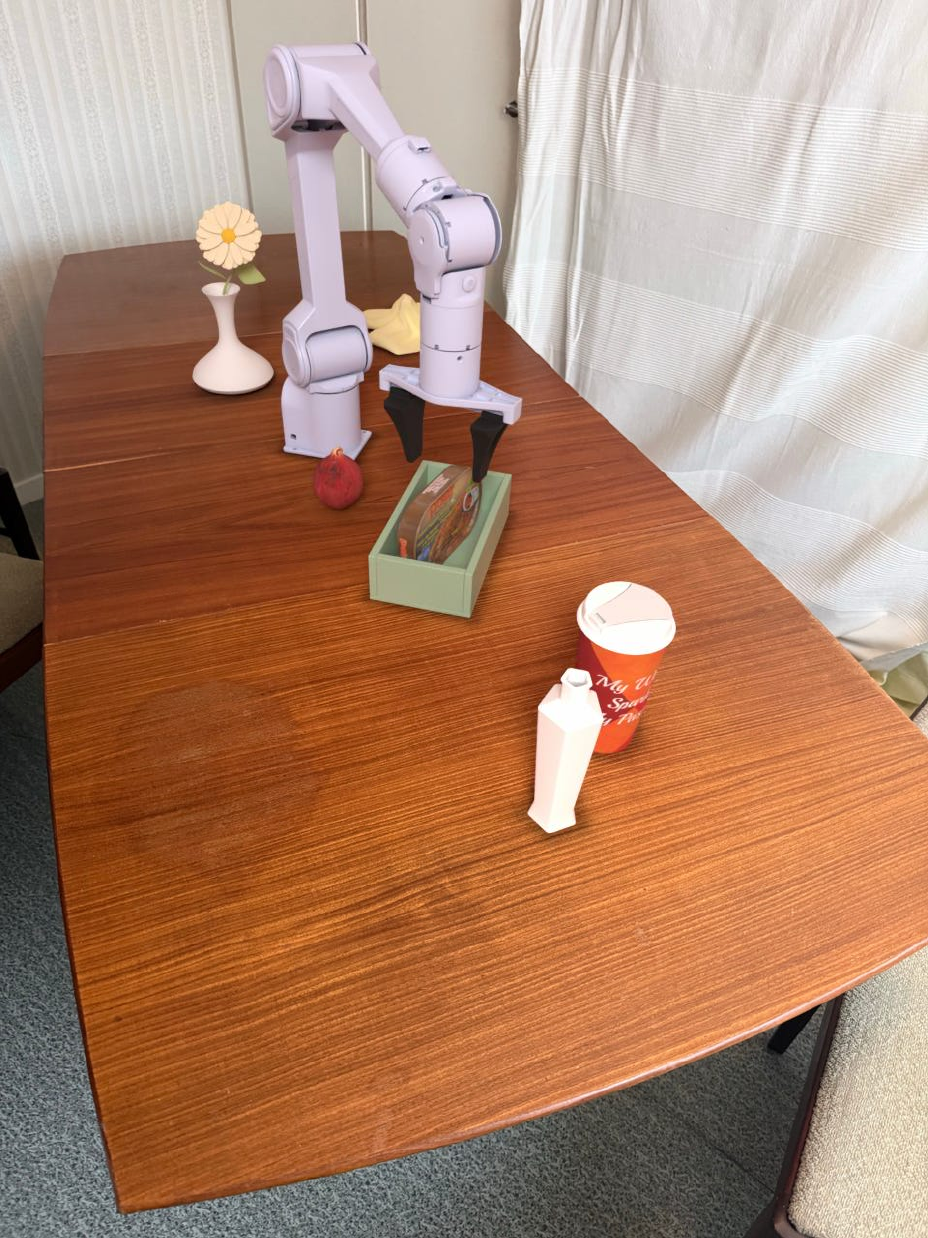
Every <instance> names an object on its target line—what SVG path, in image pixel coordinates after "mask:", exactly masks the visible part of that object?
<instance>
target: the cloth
mask: <svg viewBox="0 0 928 1238" xmlns="http://www.w3.org/2000/svg"><path fill="white" fill-rule="evenodd" d="M362 312H363V314H364V315H365V317H366V322H367V328H368V330H372V331H370V332H368V333H369V336H370V339H371V342H372V346H375V347H377V348H380V349H383V350H386V351H388V352H390V353H393V354H394V355H397V356H403V355H408V354H414V353H420V302H418V301H417V302H416V301H415V300H414V299H413V296H411V295H409V294H407V293H402V294H401V296H400V297H399V298H398V299H397V300H395V301H394V303H393V304H392V306H391V308H371V309H366V310H364V311H362Z"/></svg>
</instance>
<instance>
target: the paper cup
mask: <svg viewBox="0 0 928 1238" xmlns="http://www.w3.org/2000/svg"><path fill="white" fill-rule="evenodd" d="M576 621H577V625H578V627H579V629H578V636H577V637H578V638H577V647H576V657H575V666H574V669H578V670H584V671H587V672H589V674H590V677H591V681H592V686H591V687H590V688H589V690H593V691H595V692H596V694H597V698H598V701H599V705H600V708H601V712H602V715H603V723H602V726H601V729H600V732H599V735H598V738H597V741H596V744H595V747H594V750H593V752H595V753H597V754H598V753H599V754H614V753H615V754H616V753H618V752H620V751H623V750H624V749H626V748H627V747H628V746H629V745H630V743H631V742H632V741H633V738H634V736H635V733H636V731H637V728H638V726H639V723H640V720H641V717H642V714H643V712H644V710H645V707H646V703H647V701H648V698H649V695H650V693H651V690H652V687H653V684H654V681H655V679H656V676H657V673H658V670H659V667H660V665H661V662H662V659H663V656H664V653H665V652H666V649H667V646H668V645H669V644H670V643H672V641H673V639H674V637H675V634H676V628H677V627H676V621H675V619H674V616H673V611H672V607H671V606H670V605H669V603H668V601H667V600H666V599H665V598H664V597H663V596H662V595H660V594H659V593H658V592H656V591H655V590H654V589H652V588H649V587H648V586H645V585H641V584H638V583H635V582H630V581H611V582H606V583H602V584H600V585H598V586H596V587H595V588H593V589H592V590H591V591H589V593H588V594H587V595H586V597H585V598H584V600H582V602H581V603H580V604H579V606H578V608H577V611H576Z"/></svg>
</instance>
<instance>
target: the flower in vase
mask: <svg viewBox="0 0 928 1238" xmlns="http://www.w3.org/2000/svg"><path fill="white" fill-rule="evenodd" d="M202 215H203V216H202V218H200V219H199V221H198V229H196V231H195V234H196V236H195V240H196V242H198V243H199V246H198V247H199V250H200V251H203V253H202V257H203V258H204V260H206V261H208V262H209V263H213V264H214V265H215V266H221V267H222V268H223V269H226V270H229V271H230V270H231V272H230V274H229V276H228V277H225V276H224V275H223V274H222V273H220V272H219V271H217V270H216V269H213V268H211V267H209V266H206V265H204V264H202V263H201V262H200V261H199V260H197V261H198V264H199V265H200V266H201V267H202V268H203V269H204V270H207V271H208V272H210V273H212V274H214V275H216V276H218V277H221V278H223V279H224V280H226V281H218V282H211V283H208V284H205V285H203V287H202V288H201V292H202V293H203V294H204V295H205V296H206V297H207V298H208V300H209V302H210V304H211V305H212V309H213V310H214V315H215V318H216V323H217V327H218V340H217V343H216V345H215V346H214V347H213V348H212V349H211V350H209V352H207V353H206V354H205V355H204V356H203V357H202V358H201V359H199V361H198V362H197V363H196V364H195V366H194V368H193V371H192V377H191V378H192V380H193V381H194V383H196V385H197V386H198V387H199V388H201V389H202V390H204V391H207V392H210V393H212V394H213V393H214V394H220V395H242V394H246V393H251V392H254V391H257V390H259V389H262V388H264V387H265V386H267V385H268V384H269V383H270V382H271V380H272V378H273V376H274V373H275V372H274V368H273V367H272V365H271V363H270V361H268V359H266V358H265V357H263V356H262V354H259V353H258V352H256V351H255V350H253V349H251V348H249V347H248V346H246V345H245V344H243V343H242V342H241V341H240V339H239V338H238V335H237V331H236V326H235V311H234V310H235V302H236V298H237V296H238V295H239V292H240V291H241V287H240V286H239V285H238V284H236V283H233V282H231V280H232V278H233V276H234V274H236V275H237V277H238V278H239V280H240V281H241V282H242V283H243V284H244V285H254V284H258V283H262V282H265V281H266V278H265V277H264V276H263V274H262V273H261V272H260V271H259V270H258V268H257V267H256V266H254V264H252V263H249V262H251V261H253V259H254V257H256V252H255V251H256V250H257V249H259V247H260V242H261V238H262V236H263V235H262V231H261V230H260V229H259V230H258V228H259V223H258V222H257V221H255V220H256V216H255V214H254V213H253V212H251V211H250V210H249V209H245V208H244V207H242V206H240V205H239V204H235V203H232V202H230V201H225V202H224V203H222V204H218V203H217V204H215V205H214V206H213V208H210V209H209V210H208V209H206V210H204V211H203V213H202Z"/></svg>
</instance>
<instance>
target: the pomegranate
mask: <svg viewBox="0 0 928 1238" xmlns="http://www.w3.org/2000/svg"><path fill="white" fill-rule="evenodd" d="M364 485H365V482H364V476H363V470H362V468H361V466H360V465H359V464H358V463H357V462H356V460H353V459H352V458H350V457H349V456H347V455H344V454H343V449H342V448H341V447H339V446H337V447H335V448H333V450H332V452H331V454H330V455H328V456H326V457H325V458H322V459H321V460H320V461H319V462H318V463H317V465H316V466H315V467H314V470H313V474H312V489H313V492H314V494H315V495H316V496H317V498H318V499H319V501H320V502H321V503H323V504H324V505H325V506H327V507H329V508H332V509H334V510H340V511H341V510H345V508H347V507H350V506H351V505H352V504H354V503H355V502H356V501H357V500H358V499H359V497H360V496H361V495H362V493H363V490H364Z"/></svg>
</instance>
